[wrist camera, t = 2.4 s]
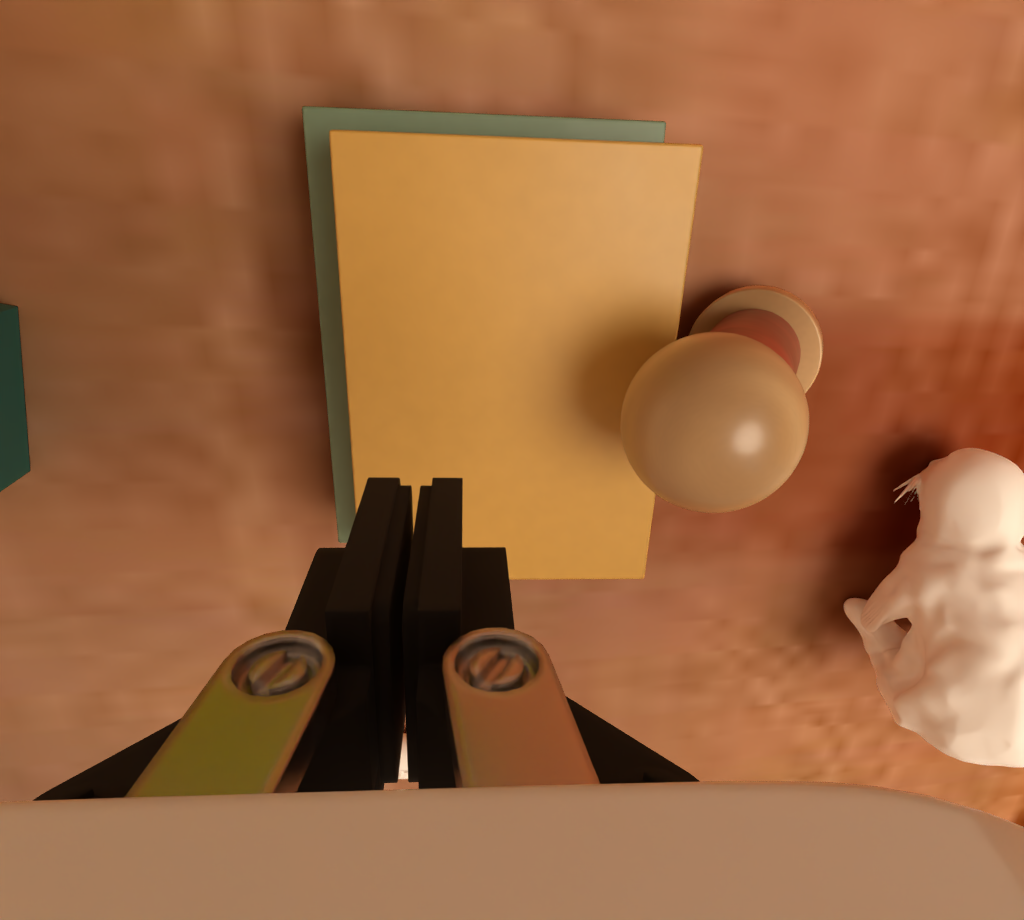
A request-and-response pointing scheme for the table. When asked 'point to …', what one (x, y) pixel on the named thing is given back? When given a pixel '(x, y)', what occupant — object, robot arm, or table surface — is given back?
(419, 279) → the books
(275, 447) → the table surface
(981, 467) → the white figurine
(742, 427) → the doll
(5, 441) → the bracket
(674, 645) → the table surface
